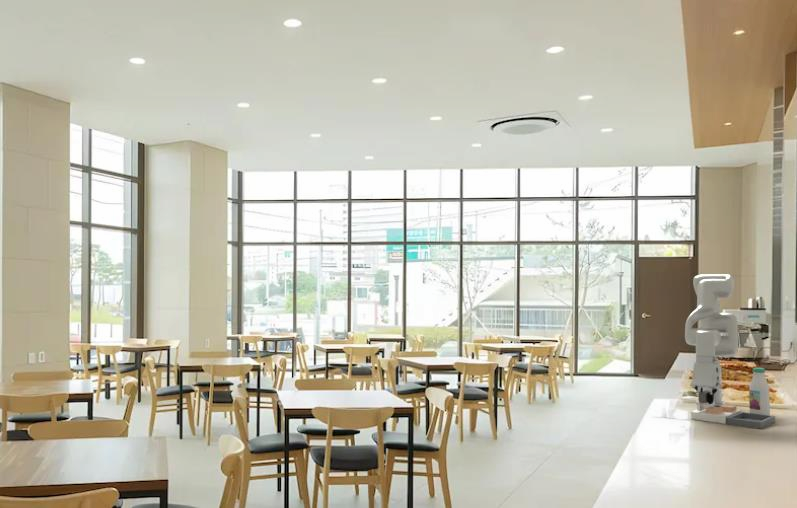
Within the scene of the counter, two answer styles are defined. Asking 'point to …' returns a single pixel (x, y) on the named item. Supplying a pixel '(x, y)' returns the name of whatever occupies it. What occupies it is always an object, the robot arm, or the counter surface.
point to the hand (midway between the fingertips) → (706, 402)
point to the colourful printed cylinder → (759, 393)
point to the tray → (751, 420)
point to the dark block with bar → (704, 401)
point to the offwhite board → (712, 416)
